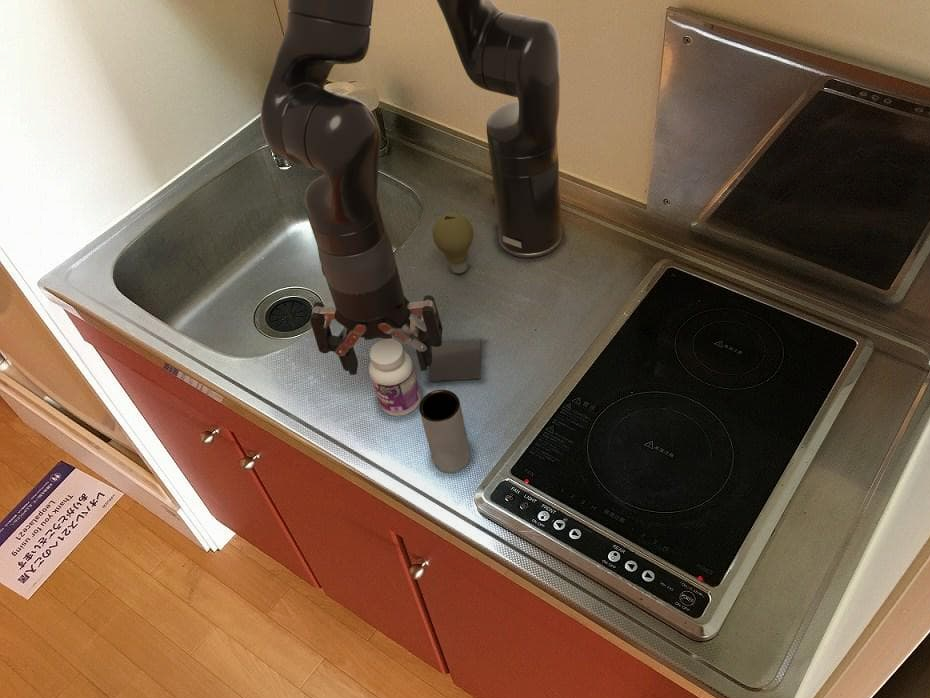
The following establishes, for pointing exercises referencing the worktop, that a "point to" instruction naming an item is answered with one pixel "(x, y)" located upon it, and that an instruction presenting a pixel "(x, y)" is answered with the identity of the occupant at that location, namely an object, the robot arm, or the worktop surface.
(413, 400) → the pill bottle
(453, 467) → the grey hollow cylinder
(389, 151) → the worktop surface
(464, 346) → the metal coaster
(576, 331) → the worktop surface
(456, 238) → the light bulb
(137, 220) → the worktop surface
